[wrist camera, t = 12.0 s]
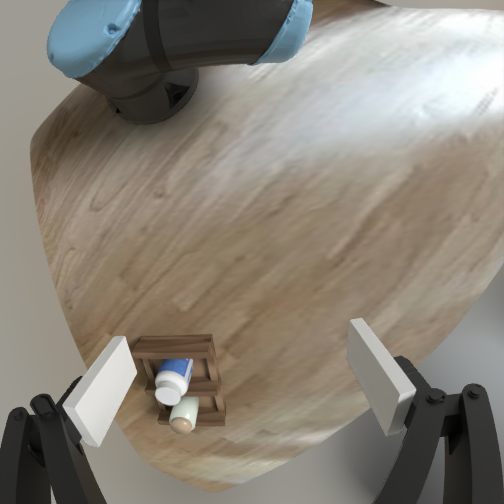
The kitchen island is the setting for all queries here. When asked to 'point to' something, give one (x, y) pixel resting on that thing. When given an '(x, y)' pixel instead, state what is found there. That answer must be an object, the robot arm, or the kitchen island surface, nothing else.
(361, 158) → the kitchen island surface
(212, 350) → the rack
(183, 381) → the pill bottle
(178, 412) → the jar
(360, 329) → the robot arm
